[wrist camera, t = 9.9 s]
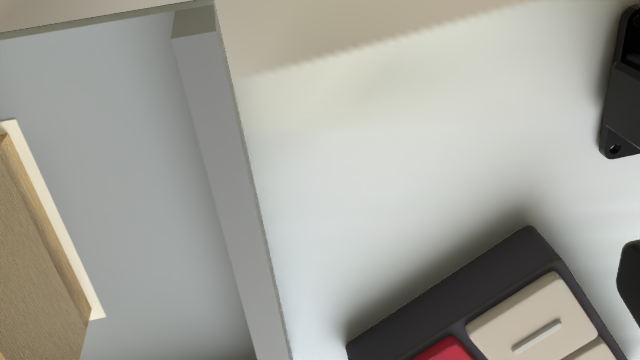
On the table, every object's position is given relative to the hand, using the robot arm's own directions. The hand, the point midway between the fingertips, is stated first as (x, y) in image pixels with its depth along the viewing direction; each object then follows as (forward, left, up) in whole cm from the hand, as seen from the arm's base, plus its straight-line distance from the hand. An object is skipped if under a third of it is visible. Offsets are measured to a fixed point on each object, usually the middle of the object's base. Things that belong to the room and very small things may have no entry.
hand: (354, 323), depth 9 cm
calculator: (-9, +19, -13) cm, 25 cm away
